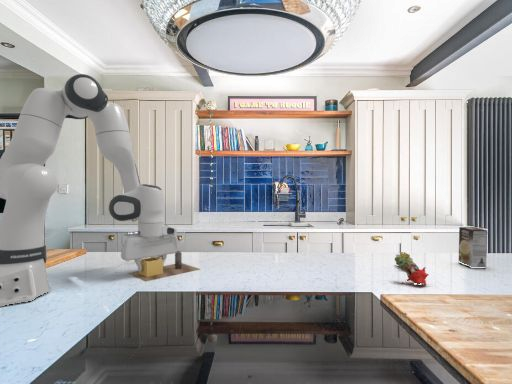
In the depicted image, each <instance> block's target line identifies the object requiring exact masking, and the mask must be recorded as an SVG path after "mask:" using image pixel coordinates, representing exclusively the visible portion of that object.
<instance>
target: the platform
mask: <svg viewBox="0 0 512 384" xmlns="http://www.w3.org/2000/svg"><path fill="white" fill-rule="evenodd" d="M398 256H404V257H405V258H407V259H409V260H412V261H413V262H414V259H413V258H412V257H411V255H410V254H408V253H407V252H404V251H399V254H396V255H395V257H398Z"/></svg>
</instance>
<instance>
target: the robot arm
mask: <svg viewBox="0 0 512 384" xmlns="http://www.w3.org/2000/svg"><path fill="white" fill-rule="evenodd" d="M65 119H73V120H84V119H89V120H90V121H91V122H92V124H93V128H94V132H95V138H96V144H97V147H98V150H99V152H100V154H101V155H102V156H103V158H105V159H106V160H108V162H110V163H111V164H112V165H113V166H114V167H115V168H116V169H117V171H118V174H119V176H120V181H121V184H122V188H123V189H122V190H123V192H124V193H120V194H118V195H115V196H114V197H112V199H111V200H110V202H109V204H108V211H109V214H110V216H111V217H112V219H114V220H116V221H119V222H128V221H133V220H136V221H137V231H132V232H129V231H128V232H126V233H125V234H123V235H122V236H121V251H120V257H121V259H122V260H123V261H126V262H129V261H134V263H135V265H136V266H137V271H139V272H141V271H144V266H142V265H141V264H140V262H141V259H146V258H151V257H155V256H160V257H162V258H161V259H162V260H163V267H164V266H165V265H164V264H165V261H166V259H167V255H173V254H175V253H177V251H179V238H178V237H179V236H178V235H177V233H178V229H177V228H176V227H172V226H169V225H168V224H167V225H166V224H165V219H164V212H165V197H164V190H163V189H162V188H161V187H160V186H157V185H154V184H147V183H146V184H145V183H143V184H141V181H140V180H141V179H140V177H139V173H138V172H139V171H138V168H137V165H136V161H135V156H134V152H133V145H132V144H133V143H132V138H131V132H130V127H129V124H128V120H127V118H126V115H125V112H124V109H123V107H122V106H120V105H119V104H117V103H115V102H110V101H109V97H108V95H107V94H106V93H105V91H104V90H103V88H102V86H101V84H100V83H99V82H98V81H97V80H96V78H94V77H93V76H90V75H88V74H83V73H79V74H78V73H77V74H75V75H73V76H71V77H70V78H69V79H67V81H66V82H65V84H64V87H63V88H62V89H61V90H53V89H51V88H47V87H37V88H35V89H34V90H32V92H30V94H29V96H28V97H27V98H26V101H25V102H24V105H23V107H22V109H21V111H20V114H19V117H18V119H17V122H16V126H15V128H14V132H13V134H12V137H11V139H10V142H9V143H8V145H7V147H6V148H5V150H4V152H3V153H2V155H1V156H0V199H3V200H5V205H4V209H3V212H2V215H1V217H0V307H6V306H5V305H7V306H10V305H9V304H13V305H15V304H14V303H20V304H22V303H21V302H26V303H29V302H28V301H31V302H33V301H35V300H36V299H37V298H36V297H38V296H40V295H42V294H44V293H46V294H48V293H49V292H51V290H52V289H51V285H50V283H49V279H48V273H47V267H46V266H47V265H46V263H47V258H48V257H47V255H48V254H47V253H48V252H47V251H48V250H47V245H45V224H46V223H45V222H46V215H47V211H48V207H49V204H50V201H51V198H52V196H53V195H54V194H55V193H56V191H57V188H58V182H59V181H58V177H57V175H56V173H55V172H54V171H53V170H52V169H50V168H49V167H46V166H45V164H46V162H47V161H48V159H49V158H50V157H51V156H52V155H53V153H54V152H55V151H56V147H57V144H58V140H59V138H60V134H61V131H62V127H63V124H64V120H65ZM50 289H51V290H50ZM48 291H49V292H48ZM47 292H48V293H47ZM44 295H45V294H44ZM42 296H43V295H42ZM40 297H41V296H40ZM35 298H36V299H35ZM38 298H39V297H38ZM34 299H35V300H34ZM32 300H33V301H32Z"/></svg>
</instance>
